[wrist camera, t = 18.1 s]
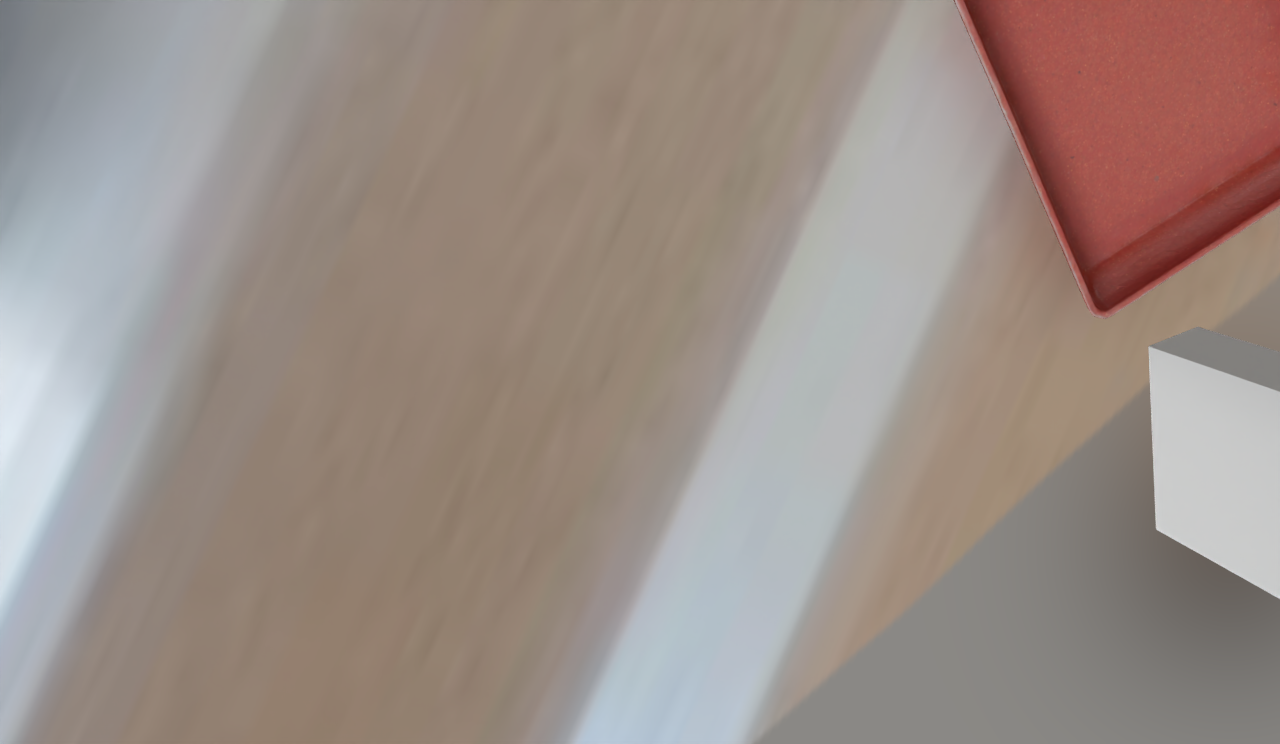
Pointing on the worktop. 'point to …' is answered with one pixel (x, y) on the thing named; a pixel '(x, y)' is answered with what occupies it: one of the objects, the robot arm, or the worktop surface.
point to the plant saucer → (1138, 126)
